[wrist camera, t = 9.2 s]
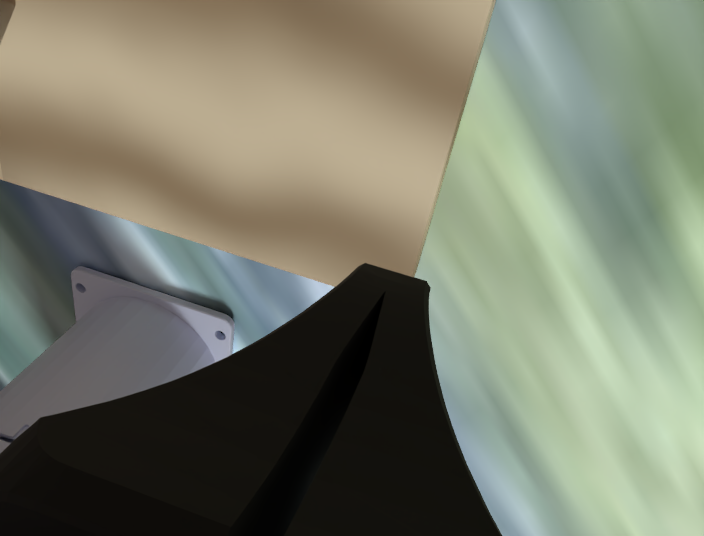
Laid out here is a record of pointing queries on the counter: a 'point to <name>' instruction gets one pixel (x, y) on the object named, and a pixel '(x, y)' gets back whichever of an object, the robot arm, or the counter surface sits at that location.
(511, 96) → the counter surface
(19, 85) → the deck
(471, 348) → the counter surface
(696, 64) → the counter surface
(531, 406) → the counter surface
